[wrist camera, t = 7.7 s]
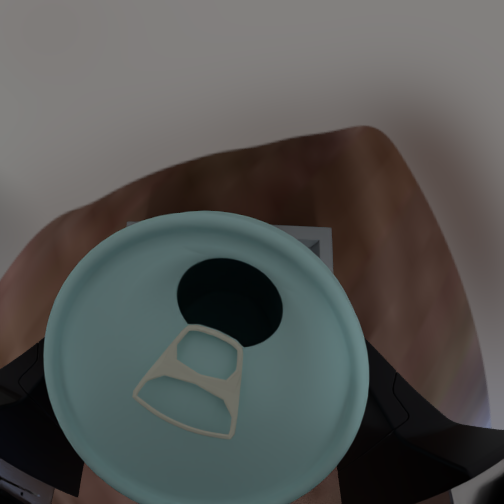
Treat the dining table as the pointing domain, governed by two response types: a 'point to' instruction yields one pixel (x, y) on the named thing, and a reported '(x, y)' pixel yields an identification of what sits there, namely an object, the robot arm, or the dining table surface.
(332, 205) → the dining table surface
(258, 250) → the can
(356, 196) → the dining table surface
